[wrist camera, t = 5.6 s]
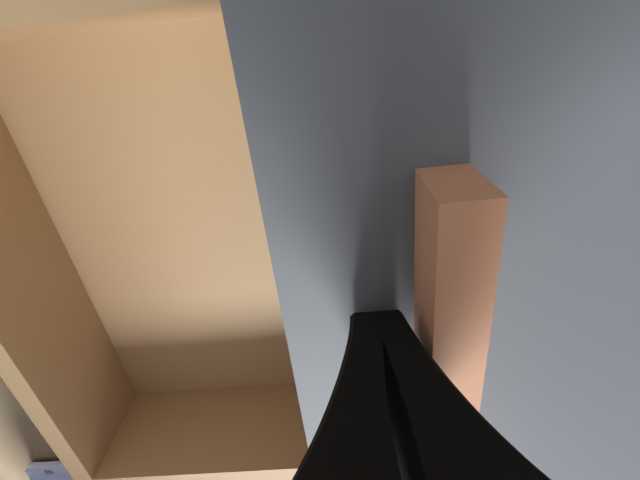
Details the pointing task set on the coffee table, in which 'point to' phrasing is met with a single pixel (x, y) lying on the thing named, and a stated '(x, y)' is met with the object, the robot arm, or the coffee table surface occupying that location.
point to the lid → (459, 202)
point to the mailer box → (137, 247)
